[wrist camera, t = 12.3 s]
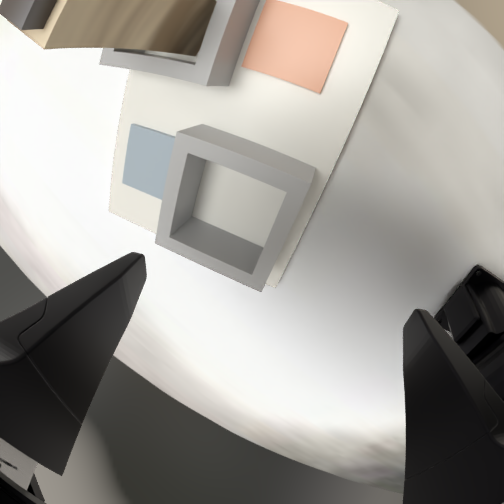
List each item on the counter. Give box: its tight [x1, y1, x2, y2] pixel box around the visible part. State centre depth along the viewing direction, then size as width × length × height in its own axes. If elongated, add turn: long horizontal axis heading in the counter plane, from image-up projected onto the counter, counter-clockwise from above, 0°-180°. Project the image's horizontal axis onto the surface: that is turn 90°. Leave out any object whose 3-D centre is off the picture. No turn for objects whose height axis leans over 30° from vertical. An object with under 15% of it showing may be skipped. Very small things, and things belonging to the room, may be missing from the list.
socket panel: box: [99, 0, 399, 292], centre depth 17 cm, size 16×22×4 cm
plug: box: [0, 0, 217, 56], centre depth 9 cm, size 4×4×13 cm
